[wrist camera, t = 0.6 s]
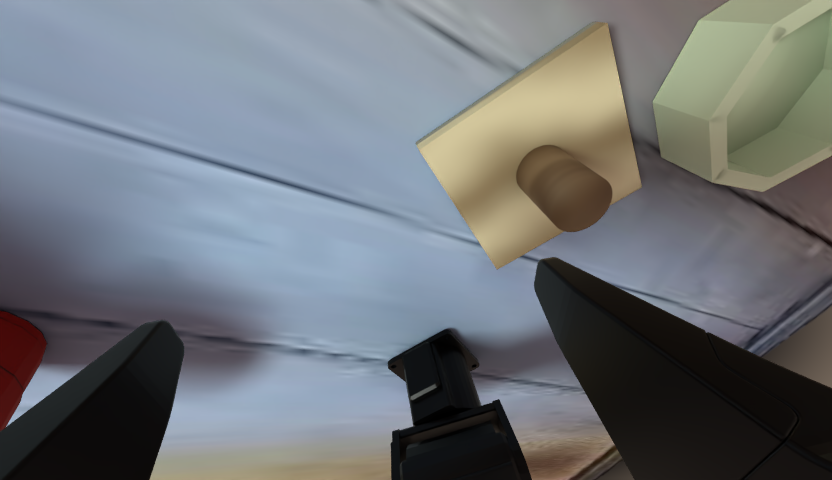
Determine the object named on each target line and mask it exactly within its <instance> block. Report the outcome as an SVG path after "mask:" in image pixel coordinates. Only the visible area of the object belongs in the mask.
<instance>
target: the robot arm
mask: <svg viewBox="0 0 832 480" xmlns="http://www.w3.org/2000/svg"><path fill="white" fill-rule="evenodd" d="M534 288H535V292H536V295H537V297H538V299H539V302H540V304H541V306H542V309H543V311H544V313H545V316H546V318H547V320H548V323H549V325H550V327H551V330H552V332H553V334H554V337H555V339H556V341H557V343H558V345H559V347H560V349H561V351H562V352H563V354H564V356H565V358H566V359H567V361H568V363H569V365H570V367H571V368H572V370H573V372H574V374H575V375H576V377H577V379H578V381H579V382H580V384H581V386H582V388H583V389H584V391H585V393H586V395H587V396H588V398H589V400H590V402H591V404H592V405H593V407H594V409H595V411H596V412H597V414H598V416H599V418H600V419H601V421H602V423H603V425H604V426H605V428H606V430H607V432H608V434H609V435H610V437H611V439H612V441H613V442H614V444H615V446H616V448H617V449H618V451H619V453H620V455H621V456H622V458H623V460H624V462H625V463H626V465H627V467H628V469H629V470H630V472H631V474H632V476H633V478H634V479H635V480H832V388H830V387H828V386H825V385H823V384H821V383H818V382H816V381H814V380H811V379H809V378H807V377H804V376H802V375H800V374H798V373H795V372H793V371H790V370H788V369H786V368H784V367H782V366H779V365H777V364H775V363H772V362H770V361H768V360H766V359H763V358H761V357H759V356H757V355H755V354H753V353H751V352H749V351H747V350H744V349H742V348H740V347H738V346H736V345H734V344H732V343H730V342H728V341H726V340H724V339H722V338H719V337H717V336H715V335H713V334H711V333H709V332H707V333H706V332H705V330H703V329H701V328H699V327H697V326H695V325H693V324H691V323H689V322H687V321H685V320H683V319H681V318H679V317H677V316H674V315H672V314H670V313H668V312H666V311H664V310H662V309H660V308H658V307H656V306H654V305H652V304H650V303H648V302H646V301H644V300H642V299H640V298H638V297H636V296H634V295H632V294H630V293H628V292H626V291H624V290H621V289H619V288H617V287H615V286H613V285H611V284H609V283H607V282H605V281H603V280H601V279H599V278H597V277H595V276H593V275H591V274H589V273H587V272H585V271H583V270H581V269H579V268H577V267H575V266H573V265H571V264H569V263H566V262H564V261H562V260H560V259H558V258H555V257H552V258H545V259H541V260H540V261H539V262H538V265H537V270H536V276H535V282H534ZM183 356H184V345H183V342H182V341H181V339H180V338H179V336H178V335H177V333H176V332H175V330H174V329H173V327H172V326H171V325H170V323H169V322H167V321H165V320H160V321H154V322H148V323H145V324H143V325H141V326H140V327H139V328H137V329H136V330H135V331H133V332H132V333H131V334H129V335H128V336H127V337H125V338H124V339H123V340H121V341H120V342H119V343H117V344H116V345H115V346H113V347H112V348H111V349H109V350H108V351H107V352H105V353H104V354H103V355H101V356H100V357H99V358H97V359H96V360H95V361H93V362H92V363H91V364H89V365H88V366H87V367H85V368H84V369H83V370H81V371H80V372H79V373H77V374H76V375H75V376H73V377H72V378H71V379H70V380H68V381H67V382H66V383H64V384H63V385H62V386H60V387H59V388H58V389H56V390H55V391H54V392H52V393H51V394H50V395H48V396H47V397H46V398H44V399H43V400H42V401H40V402H39V403H38V404H36V405H35V406H34V407H32V408H31V409H30V410H28V411H27V412H26V413H24V414H23V415H22V416H20V417H19V418H18V419H16V420H15V421H14V422H12V423H11V424H10V425H8V426H7V427H6V428H4V429H3V430H2V431H0V480H149V479H150V476H151V473H152V470H153V467H154V464H155V461H156V458H157V455H158V452H159V449H160V446H161V443H162V440H163V437H164V434H165V431H166V428H167V425H168V422H169V418H170V415H171V411H172V407H173V402H174V398H175V393H176V388H177V384H178V379H179V374H180V370H181V365H182V361H183ZM478 367H479V363H478V360H477V359H476V358H475V357H474V356H473V355H472V354H471V353H470V352H469V350H468V349H467V348H466V347H465V346H464V345H463V344H462V343H461V342H460V341H459V340H458V339H457V338H456V337H455V336H454V335H453V333H452V332H451V331H449V330H445V331H442V332H441V333H439V334H437V335H435V336H433V337H431V338H430V339H428V340H426V341H424V342H422V343H421V344H419V345H417V346H415V347H413V348H411V349H410V350H408V351H406V352H404V353H402V354H401V355H399V356H397V357H395V358H393V359H391V360H390V361H388V368H389V369H390V370H391V371H392V372H394V373H395V374H396V375H397V376H399V377H400V378H401V379H403V380H404V381H405V382H406V385H407V392H408V398H409V402H410V408H411V414H412V420H413V427H410V428H406V429H403V430H399V429H398V430H395V431H392V442H391V478H392V480H532V478H531V475H530V472H529V469H528V466H527V464H526V461H525V458H524V456H523V453H522V450H521V448H520V446H519V443H518V441H517V439H516V436H515V434H514V432H513V430H512V427H511V425H510V423H509V421H508V418H507V416H506V414H505V411H504V409H503V407H502V405H501V402H500V400H499V399H498V400H495V401H493V403H489V404H486V405H483V406H481V403H480V400H479V397H478V394H477V391H476V388H475V385H474V382H473V379H472V376H471V373H470V371H472V370H474V369H476V368H478Z"/></svg>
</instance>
